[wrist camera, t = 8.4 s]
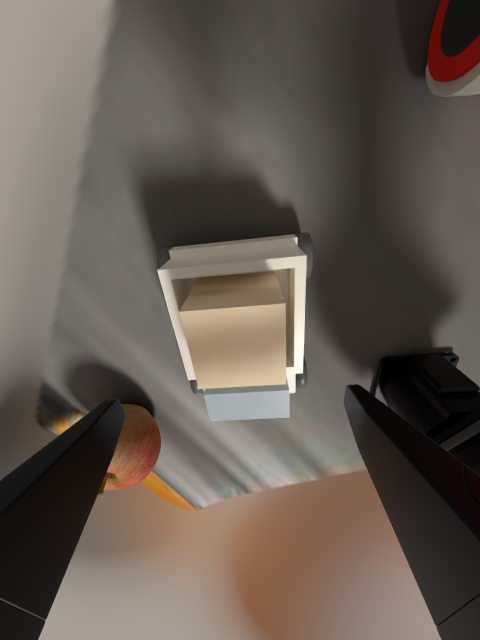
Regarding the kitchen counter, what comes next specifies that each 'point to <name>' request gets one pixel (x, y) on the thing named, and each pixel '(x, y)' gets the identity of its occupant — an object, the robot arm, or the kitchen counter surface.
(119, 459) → the apple
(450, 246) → the kitchen counter surface
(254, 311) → the cream wooden cube
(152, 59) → the kitchen counter surface
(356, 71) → the kitchen counter surface
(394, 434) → the robot arm
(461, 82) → the toy hammer
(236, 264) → the toy truck
